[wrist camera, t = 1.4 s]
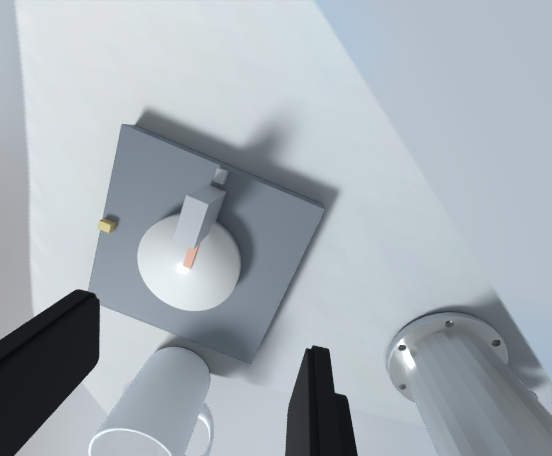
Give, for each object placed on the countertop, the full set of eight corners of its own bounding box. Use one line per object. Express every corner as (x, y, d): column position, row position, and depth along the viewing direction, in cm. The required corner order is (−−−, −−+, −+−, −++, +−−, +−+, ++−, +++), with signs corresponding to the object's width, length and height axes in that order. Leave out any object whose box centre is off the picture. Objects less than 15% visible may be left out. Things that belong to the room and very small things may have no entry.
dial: (223, 316, 30) (207, 351, 25) (136, 281, 30) (103, 309, 25) (267, 208, 26) (258, 225, 21) (166, 166, 26) (134, 173, 21)
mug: (201, 421, 39) (165, 522, 28) (134, 367, 37) (71, 454, 26) (244, 391, 36) (222, 490, 26) (175, 332, 34) (123, 413, 24)
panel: (323, 204, 28) (325, 211, 25) (253, 351, 34) (249, 369, 31) (134, 125, 27) (116, 123, 24) (98, 290, 33) (80, 303, 31)
